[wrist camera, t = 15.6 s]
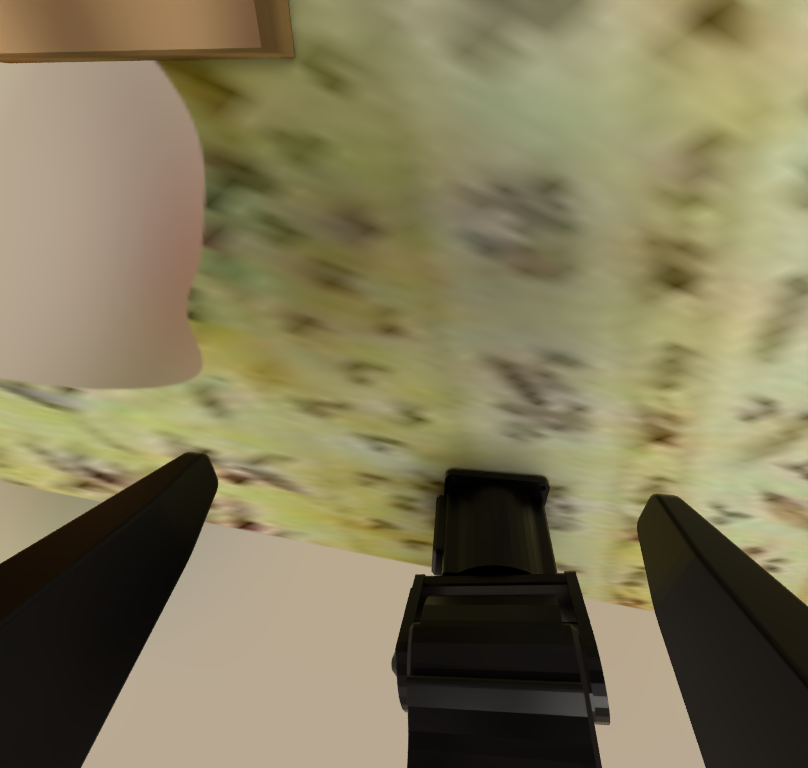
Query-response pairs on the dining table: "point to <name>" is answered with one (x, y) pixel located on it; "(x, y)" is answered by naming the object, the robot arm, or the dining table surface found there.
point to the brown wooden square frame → (143, 30)
